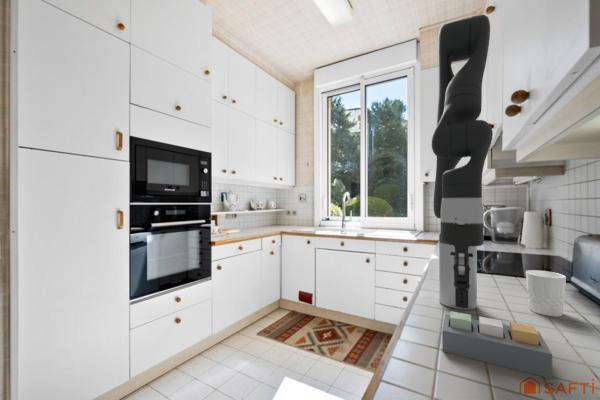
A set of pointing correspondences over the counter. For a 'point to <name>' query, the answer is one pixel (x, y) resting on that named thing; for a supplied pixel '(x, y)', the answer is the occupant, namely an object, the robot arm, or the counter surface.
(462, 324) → the sage green key
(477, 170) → the robot arm
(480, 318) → the off-white key
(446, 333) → the keypad
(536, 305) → the white cup
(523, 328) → the amber key
